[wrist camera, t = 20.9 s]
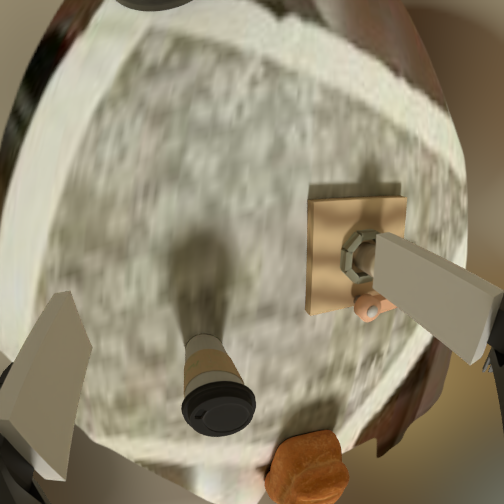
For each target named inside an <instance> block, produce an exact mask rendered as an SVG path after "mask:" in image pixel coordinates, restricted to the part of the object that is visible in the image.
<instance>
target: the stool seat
mask: <svg viewBox="0 0 504 504" xmlns="http://www.w3.org/2000/svg"><path fill="white" fill-rule="evenodd" d="M406 205H407V197H403V196H369V197H347V198H328V199H312V200H308V222H307V274H306V301H305V310H306V312H307V313H308V314H309V315H310V316H312V315H316V314H321V313H325V312H330V311H334V310H338V309H342V308H346V307H351V306H354V305H355V302H356V301H357V299H358V298H359V297H360V296H362V295H364V294H371V295H372V296H375V295H378V294H379V293H378V292H377V291H375V290H374V289H373V277H371V276H370V275H368V274H367V273H365V272H364V271H362V270H361V269H359V268H358V267H356V266H355V265H354V263H353V252H354V251H355V250H356V249H357V247H358V246H359V245H360V244H361V243H363V242H369V243H371V244H373V245H375V246H376V234H380V233H386V232H390V233H392V234H395V235H397V236H399V237H401V238H403V239H404V230H405V218H406Z"/></svg>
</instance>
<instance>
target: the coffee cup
mask: <svg viewBox="0 0 504 504" xmlns="http://www.w3.org/2000/svg"><path fill="white" fill-rule="evenodd" d="M184 398H185V399H184V401H183V403H182V408H181V409H182V414H183V416H184V419H185V421H186V422H187V423H188V424H189V425H190V426H191V427H192V428H193V429H194V430H195V431H197V432H198V433H200V434H203V435H206V436H211V437H221V436H227V435H231V434H234V433H236V432H239V431H240V430H242V429H243V428H245V427H246V426H247V425H248V424H249V423H250V422H251V420H252V418H253V414H254V412H255V409H256V401H255V396H254V393H253V392H252V391H251V390H250V389H249V388H248V387H247V386H245V385H244V382H243V380H242V378H241V376H240V374H239V373H238V371H237V369H236V367H235V365H234V363H233V362H232V360H231V358H230V357H229V356H228V355H227V353H226V351H225V349H224V347H223V345H222V343H221V342H220V340H219V339H218V338H216V337H214V336H212V335H208V334H200V335H196V336H194V337H193V338H192V339H190V341H189V342H188V344H187V346H186V353H185V366H184Z"/></svg>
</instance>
